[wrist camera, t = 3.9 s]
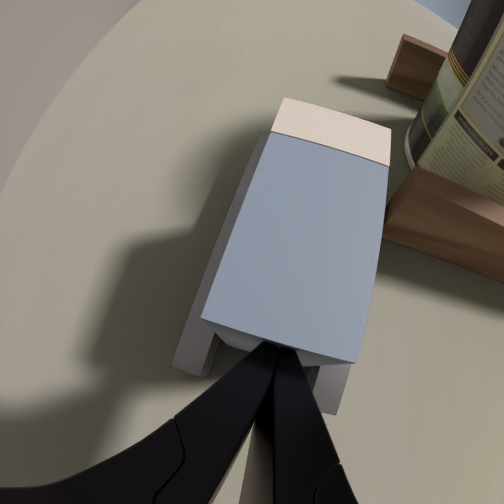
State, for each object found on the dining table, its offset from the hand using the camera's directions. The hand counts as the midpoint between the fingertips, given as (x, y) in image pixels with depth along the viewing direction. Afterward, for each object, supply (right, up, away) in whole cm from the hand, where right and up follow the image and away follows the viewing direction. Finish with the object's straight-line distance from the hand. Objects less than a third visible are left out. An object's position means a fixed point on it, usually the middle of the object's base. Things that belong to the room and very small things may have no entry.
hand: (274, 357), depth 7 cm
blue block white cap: (+1, +1, +8) cm, 8 cm away
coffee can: (+15, +8, +11) cm, 20 cm away
